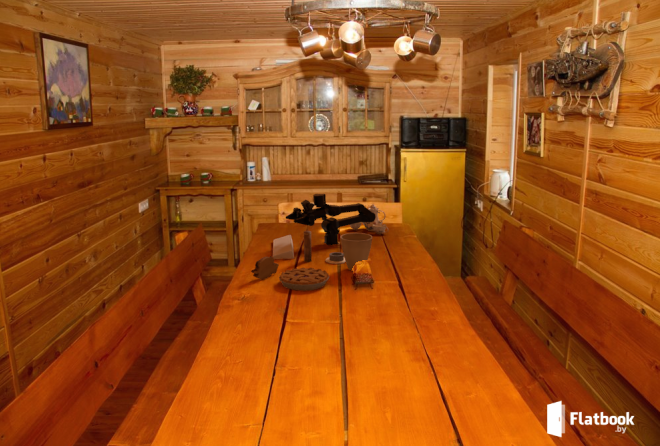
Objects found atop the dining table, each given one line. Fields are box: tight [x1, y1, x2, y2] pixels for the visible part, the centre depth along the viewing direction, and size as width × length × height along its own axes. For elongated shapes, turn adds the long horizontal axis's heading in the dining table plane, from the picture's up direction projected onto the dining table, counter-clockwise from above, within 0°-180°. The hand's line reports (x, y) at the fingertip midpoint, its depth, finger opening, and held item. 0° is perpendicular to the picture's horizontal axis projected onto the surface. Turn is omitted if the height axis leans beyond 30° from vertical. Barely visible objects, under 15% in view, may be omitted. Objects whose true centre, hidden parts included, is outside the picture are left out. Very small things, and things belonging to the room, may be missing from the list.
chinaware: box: [349, 203, 389, 235], centre depth 341 cm, size 28×17×17 cm, turn 58°
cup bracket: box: [325, 251, 346, 265], centre depth 280 cm, size 11×11×3 cm
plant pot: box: [339, 232, 373, 271], centre depth 264 cm, size 15×15×16 cm
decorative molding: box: [272, 234, 295, 260], centre depth 300 cm, size 34×5×10 cm
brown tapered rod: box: [303, 230, 312, 263], centre depth 278 cm, size 4×4×15 cm
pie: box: [278, 267, 330, 292], centre depth 246 cm, size 22×22×5 cm
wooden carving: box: [250, 256, 279, 280], centre depth 253 cm, size 16×5×10 cm, turn 150°
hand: (289, 219), depth 296 cm, fingers open, 9 cm apart
